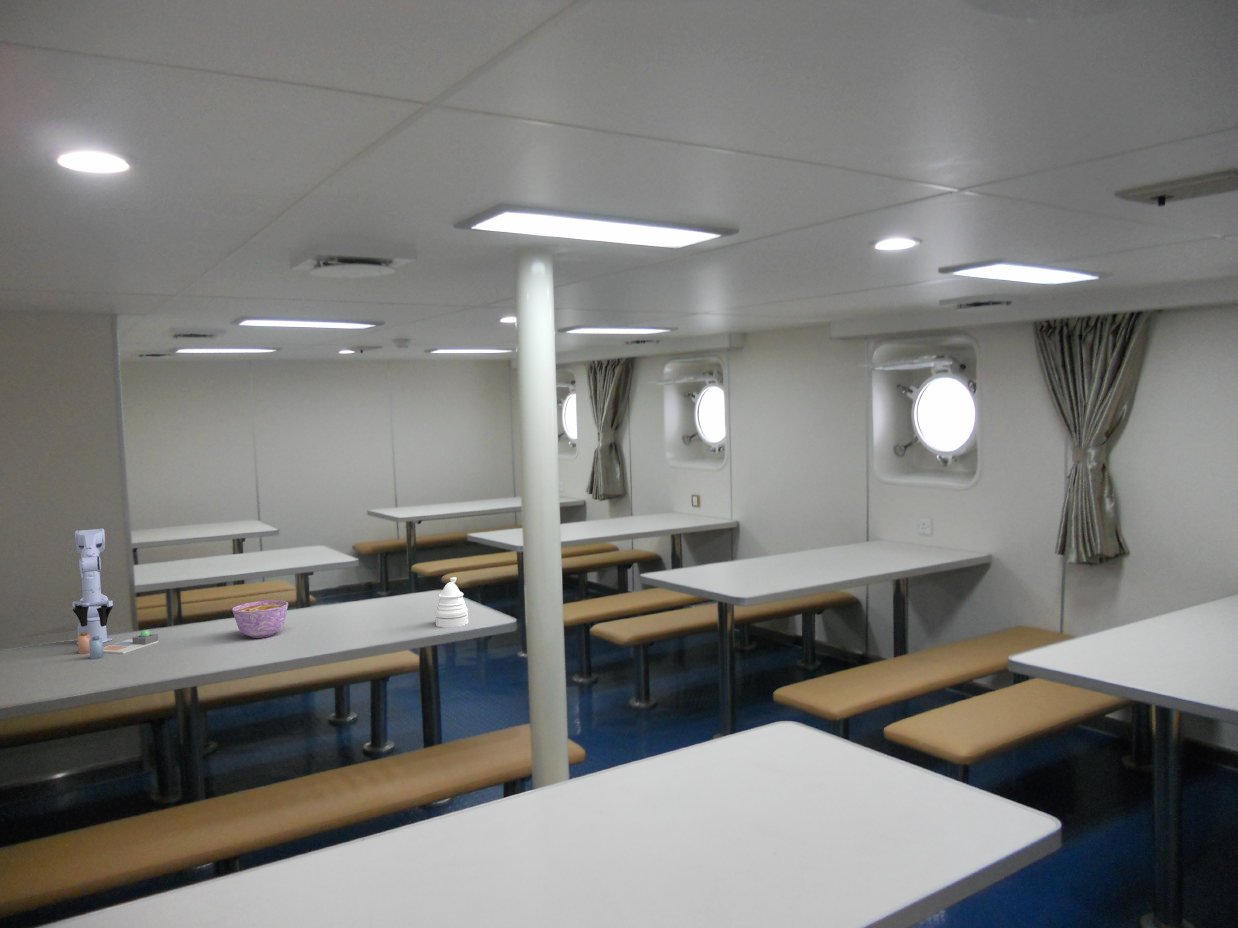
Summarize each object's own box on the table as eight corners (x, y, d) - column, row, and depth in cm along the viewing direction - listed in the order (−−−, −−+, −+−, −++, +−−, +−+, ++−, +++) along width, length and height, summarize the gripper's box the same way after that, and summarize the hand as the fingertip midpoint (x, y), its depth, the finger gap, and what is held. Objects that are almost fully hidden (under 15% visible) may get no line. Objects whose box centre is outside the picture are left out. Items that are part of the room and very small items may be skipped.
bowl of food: (291, 626, 334) (289, 598, 334) (287, 638, 315) (286, 608, 315) (237, 632, 328) (235, 603, 328) (230, 644, 309) (228, 613, 309)
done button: (139, 639, 313) (138, 631, 313) (145, 637, 316) (145, 629, 316) (145, 639, 312) (145, 631, 312) (151, 637, 315) (151, 629, 315)
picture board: (92, 651, 305) (92, 643, 305) (129, 640, 320) (128, 632, 320) (123, 653, 301) (122, 645, 301) (158, 642, 316) (158, 634, 316)
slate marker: (87, 658, 295) (86, 638, 295) (97, 655, 299) (96, 635, 299) (96, 659, 294) (95, 638, 294) (106, 656, 298) (104, 635, 298)
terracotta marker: (75, 653, 303) (74, 633, 303) (85, 650, 307) (84, 630, 306) (84, 654, 302) (83, 633, 302) (94, 651, 306) (92, 631, 305)
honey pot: (449, 618, 340) (447, 575, 339) (475, 621, 334) (473, 576, 333) (429, 625, 328) (426, 580, 327) (455, 628, 322) (453, 582, 321)
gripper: (65, 591, 301) (67, 628, 302) (102, 591, 300) (104, 628, 300) (79, 587, 308) (81, 624, 309) (115, 587, 307) (118, 623, 307)
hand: (93, 625), depth 305 cm, fingers open, 7 cm apart
